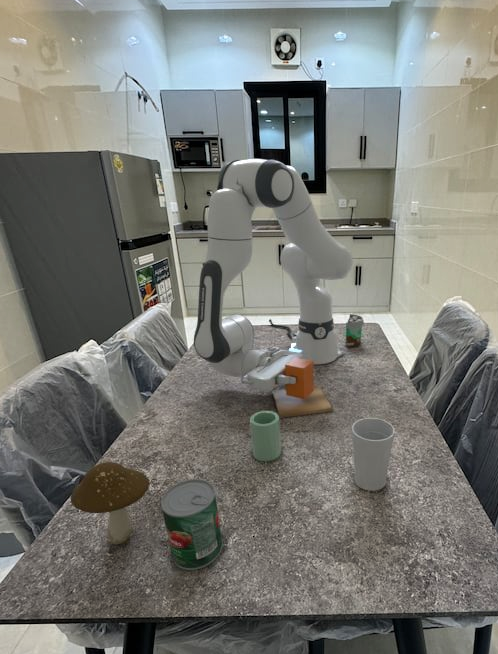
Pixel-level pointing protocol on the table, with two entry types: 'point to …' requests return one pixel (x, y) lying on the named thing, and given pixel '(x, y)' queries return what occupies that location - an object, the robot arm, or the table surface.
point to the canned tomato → (192, 523)
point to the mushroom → (111, 496)
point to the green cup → (265, 435)
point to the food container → (354, 330)
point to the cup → (371, 452)
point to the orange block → (300, 377)
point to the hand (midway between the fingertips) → (302, 375)
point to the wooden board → (301, 403)
